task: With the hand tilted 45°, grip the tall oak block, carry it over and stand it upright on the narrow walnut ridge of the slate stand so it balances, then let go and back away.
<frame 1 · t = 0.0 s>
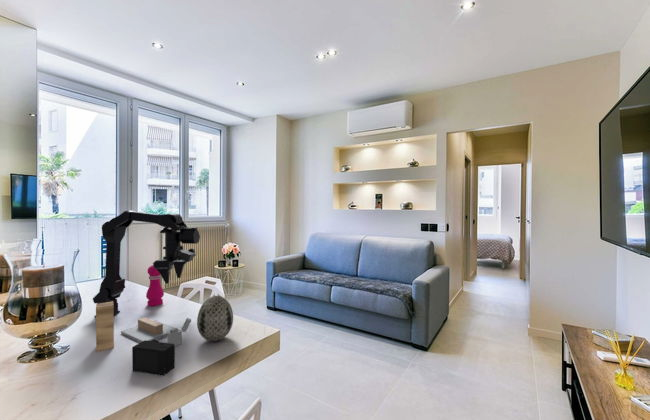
hand: (173, 280, 124), 15 cm above the table, tool pointing down, fingers open, 9 cm apart
oak block: (105, 347, 96), on the table
pepper mill: (155, 304, 139), on the table
ridge stand: (150, 332, 107), on the table
lighter: (179, 344, 99), on the table
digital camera: (155, 369, 84), on the table
decorative egg: (215, 340, 102), on the table
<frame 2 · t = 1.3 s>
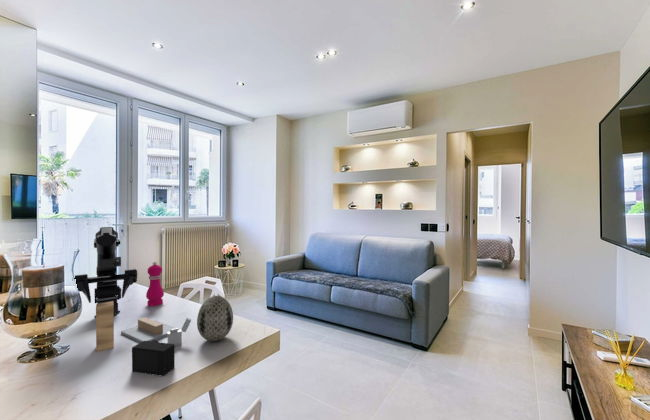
hand: (106, 299, 103), 13 cm above the table, tool tilted 45°, fingers open, 9 cm apart
nothing on the table moved.
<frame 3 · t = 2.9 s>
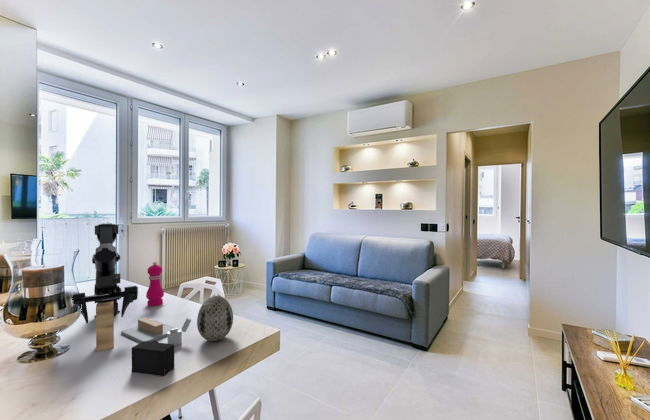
hand: (105, 319, 97), 9 cm above the table, tool tilted 45°, fingers open, 9 cm apart
nothing on the table moved.
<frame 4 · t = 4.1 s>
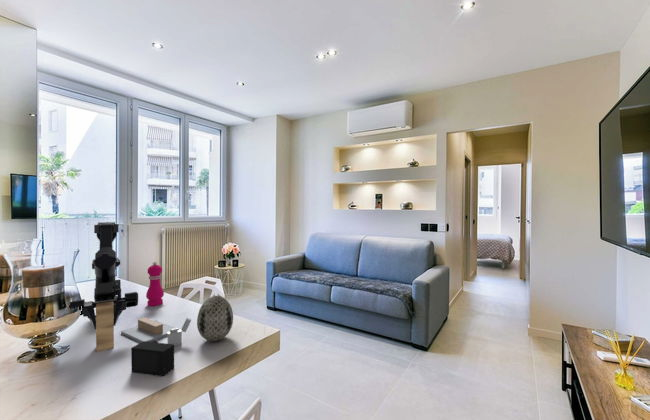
hand: (105, 327, 95), 7 cm above the table, tool tilted 45°, fingers closed on oak block, 4 cm apart
oak block: (105, 346, 96), on the table, touching gripper
everything else where it was.
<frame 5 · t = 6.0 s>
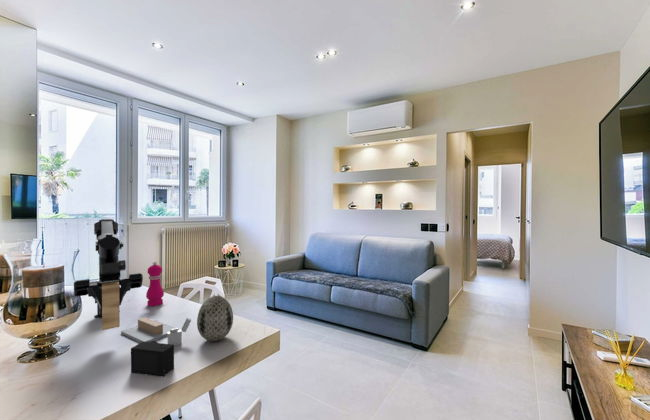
hand: (110, 306, 96), 13 cm above the table, tool tilted 45°, fingers closed on oak block, 4 cm apart
oak block: (110, 326, 97), point 6 cm above the table, touching gripper
everything else where it was.
when the fingers open (12 cm above the table, at t = 7.7 s): oak block stays where it is, resting on ridge stand.
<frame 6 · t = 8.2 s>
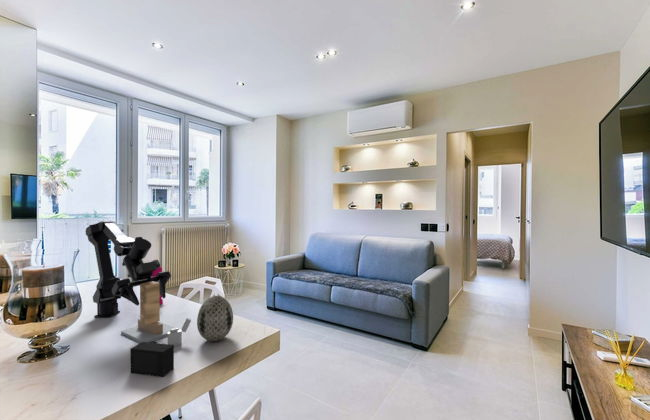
hand: (152, 301, 106), 12 cm above the table, tool tilted 45°, fingers open, 9 cm apart
oak block: (150, 321, 107), point 4 cm above the table, touching ridge stand
everything else where it was.
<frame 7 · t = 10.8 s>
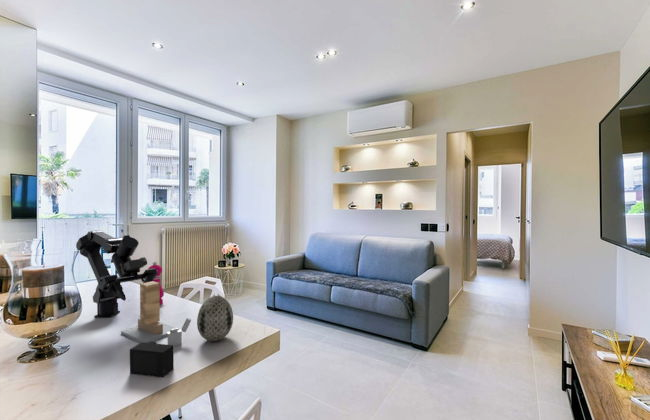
hand: (138, 296, 111), 12 cm above the table, tool tilted 45°, fingers open, 9 cm apart
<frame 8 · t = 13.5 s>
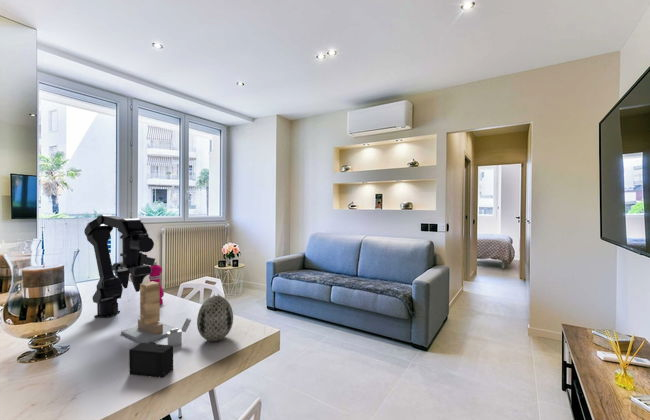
hand: (131, 289, 116), 13 cm above the table, tool pointing down, fingers open, 9 cm apart
at the end: oak block inside the target area on the ridge stand (0.0 cm from its centre), point 4.0 cm above the ridge stand's base; oak block tilted 0°; the gripper is holding nothing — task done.
